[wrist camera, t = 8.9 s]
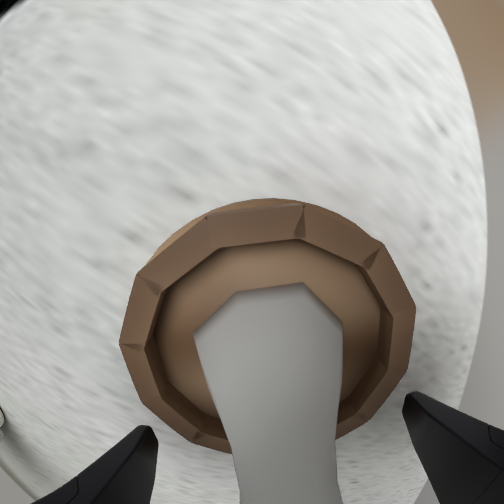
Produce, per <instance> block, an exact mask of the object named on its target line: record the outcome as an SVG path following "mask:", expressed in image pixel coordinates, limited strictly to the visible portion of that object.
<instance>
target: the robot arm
mask: <svg viewBox="0 0 504 504" xmlns="http://www.w3.org/2000/svg"><path fill="white" fill-rule="evenodd" d="M402 414H403V417H404V420H405V423H406V426H407V429H408V431H409V434H410V437H411V440H412V443H413V446H414V448H415V450H416V453H417V455H418V457H419V459H420V461H421V463H422V465H423V467H424V469H425V472H426V474H427V476H428V478H429V480H430V482H431V485H432V487H433V489H434V491H435V493H436V496H437V498H438V500H439V503H440V504H504V430H501V429H499V428H496V427H494V426H492V425H488V424H487V423H484V422H482V421H480V420H477V419H475V418H473V417H471V416H469V415H467V414H465V413H462V412H460V411H458V410H456V409H454V408H452V407H450V406H447V405H445V404H443V403H441V402H439V401H437V400H435V399H433V398H431V397H429V396H427V395H425V394H423V393H421V392H418V391H414V392H411V393H408V394H407V395H406V397H405V401H404V405H403V409H402ZM157 454H158V440H157V438H156V436H155V434H154V432H153V430H152V428H151V427H150V426H146V425H139V426H137V427H136V428H135V429H134V430H133V431H132V432H130V433H129V434H128V435H127V436H126V437H124V438H123V439H122V440H121V441H120V442H118V443H117V444H116V445H115V446H113V447H112V448H111V449H110V450H109V451H107V452H106V453H105V454H104V455H102V456H101V457H100V458H99V459H97V460H96V461H95V462H94V463H92V464H91V465H90V466H88V467H87V468H86V469H85V470H83V471H82V472H81V473H79V474H78V475H77V476H75V477H74V478H73V479H71V480H70V481H69V482H67V483H66V484H64V485H63V486H62V487H60V488H58V489H57V490H55V491H53V492H52V493H50V494H48V495H46V496H45V497H43V498H41V499H39V500H37V501H35V502H33V503H32V504H150V499H151V495H152V490H153V486H154V481H155V474H156V464H157Z"/></svg>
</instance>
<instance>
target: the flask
mask: <svg viewBox="0 0 504 504" xmlns="http://www.w3.org/2000/svg"><path fill="white" fill-rule="evenodd" d="M193 336H194V340H195V344H196V347H197V351H198V355H199V358H200V362H201V366H202V369H203V373H204V376H205V379H206V383H207V386H208V389H209V392H210V394H211V397H212V399H213V402H214V404H215V407H216V409H217V411H218V414H219V416H220V419H221V421H222V424H223V427H224V429H225V432H226V435H227V438H228V440H229V443H230V445H231V449H232V454H233V460H234V465H235V470H236V475H237V480H238V485H239V489H240V504H343V502H342V498H341V494H340V490H339V486H338V482H337V464H336V447H335V435H336V425H337V415H338V406H339V399H340V392H341V384H342V371H343V322H342V321H341V320H340V319H339V318H338V317H337V316H336V315H335V314H334V313H333V312H332V311H331V310H330V309H329V308H328V307H327V306H326V305H325V304H324V303H323V302H322V301H321V300H320V299H319V298H318V297H317V296H316V295H315V294H314V293H313V292H312V291H311V290H310V289H309V288H308V287H307V286H306V285H305V284H304V283H303V282H299V283H293V284H286V285H280V286H273V287H266V288H259V289H252V290H244V291H237V292H235V293H234V294H233V295H232V296H231V297H230V298H229V299H228V300H227V301H226V302H224V303H223V304H222V305H221V306H220V307H219V308H218V309H217V310H216V311H215V312H214V313H213V314H212V315H211V316H210V317H209V318H208V319H206V320H205V321H204V322H203V323H202V324H201V325H200V326H199V327H198V328H197V329H196V330H195V331H194V332H193Z"/></svg>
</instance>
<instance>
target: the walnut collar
mask: <svg viewBox="0 0 504 504" xmlns="http://www.w3.org/2000/svg"><path fill="white" fill-rule="evenodd" d="M299 282H303V283H304V284H305V285H306V286H307V287H308V288H309V289H310V290H311V291H312V292H313V293H314V294H315V295H316V296H317V297H318V298H319V299H320V300H321V301H322V302H323V303H324V304H325V305H326V306H327V307H328V308H329V309H330V310H331V311H332V312H333V313H334V314H335V315H336V316H337V317H338V318H339V319H340V320H341V321H342V322H343V371H342V384H341V392H340V399H339V406H338V415H337V425H336V435H335V440H336V439H338V438H340V437H342V436H344V435H345V434H347V433H349V432H351V431H352V430H354V429H356V428H358V427H359V426H361V425H363V424H364V423H366V422H368V420H370V419H371V418H372V416H373V415H374V414H375V413H376V412H377V410H378V409H379V408H380V407H381V405H382V404H383V403H384V402H385V400H386V399H387V398H388V396H389V395H390V394H391V392H392V391H393V390H394V388H395V387H396V386H397V384H398V383H399V381H400V380H401V379H402V377H403V376H404V374H405V373H406V370H407V369H408V363H409V357H410V351H411V345H412V338H413V331H414V322H415V313H416V306H415V303H414V301H413V299H412V297H411V295H410V293H409V291H408V289H407V287H406V285H405V283H404V281H403V279H402V277H401V275H400V273H399V271H398V269H397V267H396V265H395V264H394V262H393V260H392V258H391V256H390V254H389V252H388V251H387V249H386V247H385V245H384V244H382V242H380V241H378V240H376V239H374V238H372V237H371V236H370V235H368V234H367V233H366V232H365V231H363V230H362V229H361V228H360V227H359V226H357V225H356V224H355V223H353V222H351V221H350V220H348V219H346V218H344V217H343V216H341V215H339V214H337V213H335V212H332V211H330V210H327V209H325V208H322V207H320V206H317V205H313V204H309V203H305V202H300V201H296V200H287V199H276V198H270V199H252V200H247V201H242V202H237V203H232V204H229V205H226V206H223V207H220V208H217V209H214V210H212V211H210V212H208V213H206V214H204V215H202V216H200V217H198V218H196V219H194V220H192V221H191V222H189V223H188V224H186V225H185V226H184V227H182V228H181V229H179V230H178V231H177V232H175V233H174V234H173V235H172V236H171V237H170V238H168V239H167V240H166V241H165V242H164V243H163V244H162V245H161V246H160V247H159V248H158V250H157V251H156V252H155V253H154V255H153V256H152V257H151V259H150V260H149V261H148V263H147V264H146V266H144V267H143V268H142V269H141V270H140V271H139V272H137V274H136V277H135V280H134V284H133V287H132V291H131V295H130V298H129V302H128V306H127V310H126V314H125V318H124V322H123V326H122V330H121V335H120V339H119V346H120V348H121V351H122V354H123V357H124V360H125V362H126V365H127V368H128V370H129V373H130V376H131V378H132V381H133V383H134V386H135V388H136V390H137V393H138V395H139V398H140V400H141V402H143V404H144V405H145V406H146V407H147V408H148V409H149V410H151V411H152V412H153V413H154V414H155V415H156V416H158V417H159V418H160V419H161V420H162V421H164V422H165V423H166V424H167V425H168V426H170V427H171V428H172V429H173V430H175V431H176V432H177V433H179V434H180V435H181V436H182V437H184V438H185V439H186V440H188V441H189V442H190V441H191V443H194V444H197V445H200V446H204V447H207V448H211V449H214V450H218V451H222V452H225V453H229V454H232V449H231V445H230V443H229V440H228V438H227V435H226V432H225V429H224V427H223V424H222V421H221V419H220V416H219V414H218V411H217V409H216V407H215V404H214V402H213V399H212V397H211V394H210V392H209V389H208V386H207V383H206V379H205V376H204V373H203V369H202V366H201V362H200V358H199V355H198V351H197V347H196V344H195V340H194V336H193V332H194V331H195V330H196V329H197V328H198V327H199V326H200V325H201V324H202V323H203V322H204V321H205V320H206V319H208V318H209V317H210V316H211V315H212V314H213V313H214V312H215V311H216V310H217V309H218V308H219V307H220V306H221V305H222V304H223V303H224V302H226V301H227V300H228V299H229V298H230V297H231V296H232V295H233V294H234V293H235V292H237V291H244V290H252V289H259V288H266V287H273V286H280V285H286V284H293V283H299Z"/></svg>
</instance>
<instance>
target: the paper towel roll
mask: <svg viewBox="0 0 504 504" xmlns="http://www.w3.org/2000/svg"><path fill="white" fill-rule="evenodd" d="M3 423H4V417H3V414H2V412H1V410H0V427H1V426H2V425H3ZM4 436H5V434H4V433H3V431H2V430H1V429H0V441H1V440H2V438H3V437H4Z"/></svg>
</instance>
